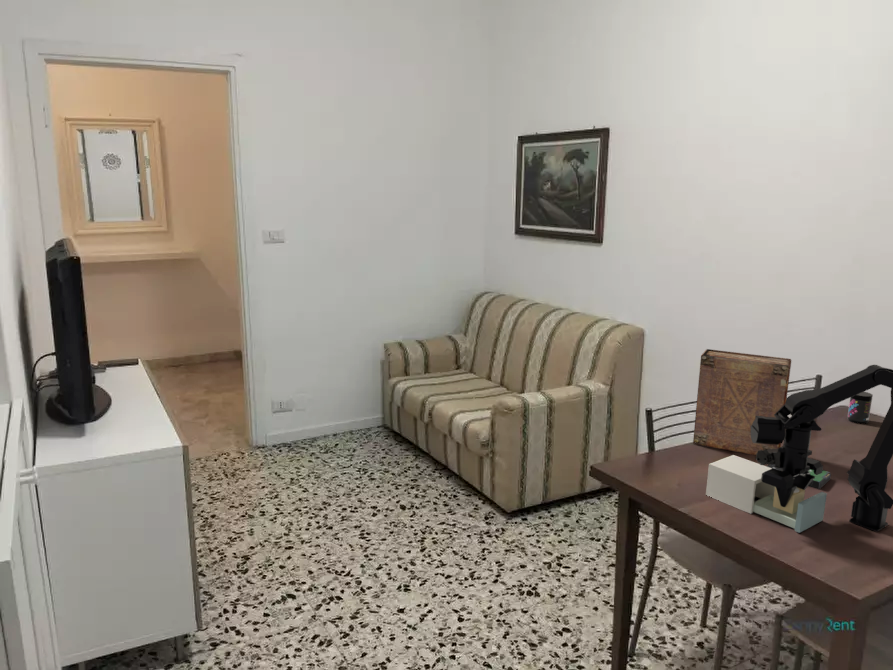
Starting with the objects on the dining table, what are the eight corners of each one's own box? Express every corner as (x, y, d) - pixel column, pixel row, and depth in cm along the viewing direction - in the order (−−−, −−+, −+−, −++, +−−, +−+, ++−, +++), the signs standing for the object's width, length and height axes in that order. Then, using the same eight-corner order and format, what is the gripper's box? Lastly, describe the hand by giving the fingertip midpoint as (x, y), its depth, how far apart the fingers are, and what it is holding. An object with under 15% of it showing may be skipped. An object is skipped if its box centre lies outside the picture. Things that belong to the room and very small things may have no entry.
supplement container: (850, 416, 250) (854, 389, 248) (870, 421, 246) (875, 393, 243) (844, 420, 246) (848, 393, 244) (865, 425, 241) (869, 397, 239)
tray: (822, 520, 170) (826, 493, 168) (799, 532, 163) (803, 505, 162) (772, 500, 180) (775, 475, 179) (748, 511, 174) (751, 485, 172)
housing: (774, 502, 180) (778, 470, 178) (750, 513, 173) (754, 481, 171) (729, 485, 190) (733, 454, 188) (705, 495, 184) (708, 463, 182)
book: (780, 450, 216) (792, 359, 210) (778, 460, 209) (790, 365, 202) (697, 435, 229) (706, 348, 222) (692, 444, 221) (701, 354, 214)
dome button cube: (802, 508, 171) (805, 489, 169) (792, 514, 168) (794, 494, 167) (783, 501, 175) (785, 482, 173) (772, 506, 172) (775, 487, 171)
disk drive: (764, 476, 198) (819, 491, 188) (765, 466, 198) (821, 481, 188) (776, 466, 206) (830, 480, 196) (777, 457, 205) (831, 471, 195)
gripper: (784, 428, 179) (777, 483, 183) (744, 442, 169) (737, 501, 172) (827, 441, 170) (819, 499, 174) (788, 457, 160) (780, 518, 163)
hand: (788, 503), depth 171 cm, fingers closed on dome button cube, 5 cm apart
